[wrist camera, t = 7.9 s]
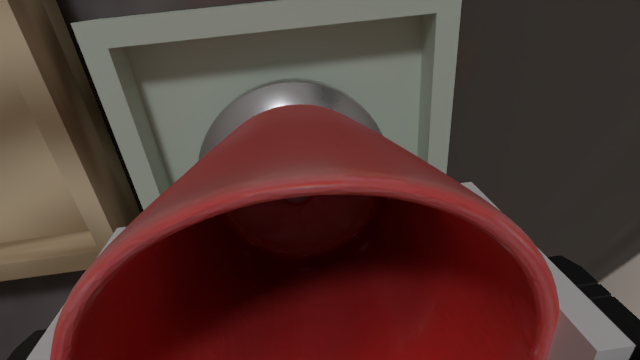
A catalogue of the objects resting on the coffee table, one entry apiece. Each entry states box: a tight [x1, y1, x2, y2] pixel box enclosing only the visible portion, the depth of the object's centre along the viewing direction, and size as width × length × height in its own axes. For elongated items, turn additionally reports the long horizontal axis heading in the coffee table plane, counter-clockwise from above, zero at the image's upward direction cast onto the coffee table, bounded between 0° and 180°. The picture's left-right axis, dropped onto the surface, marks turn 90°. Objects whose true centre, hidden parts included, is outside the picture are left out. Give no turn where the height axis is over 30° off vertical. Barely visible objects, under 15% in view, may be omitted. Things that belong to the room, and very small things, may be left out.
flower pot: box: [50, 104, 559, 360], centre depth 12 cm, size 11×11×10 cm
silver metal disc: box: [198, 78, 382, 161], centre depth 17 cm, size 9×9×1 cm
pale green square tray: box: [71, 0, 462, 210], centre depth 18 cm, size 15×15×2 cm
